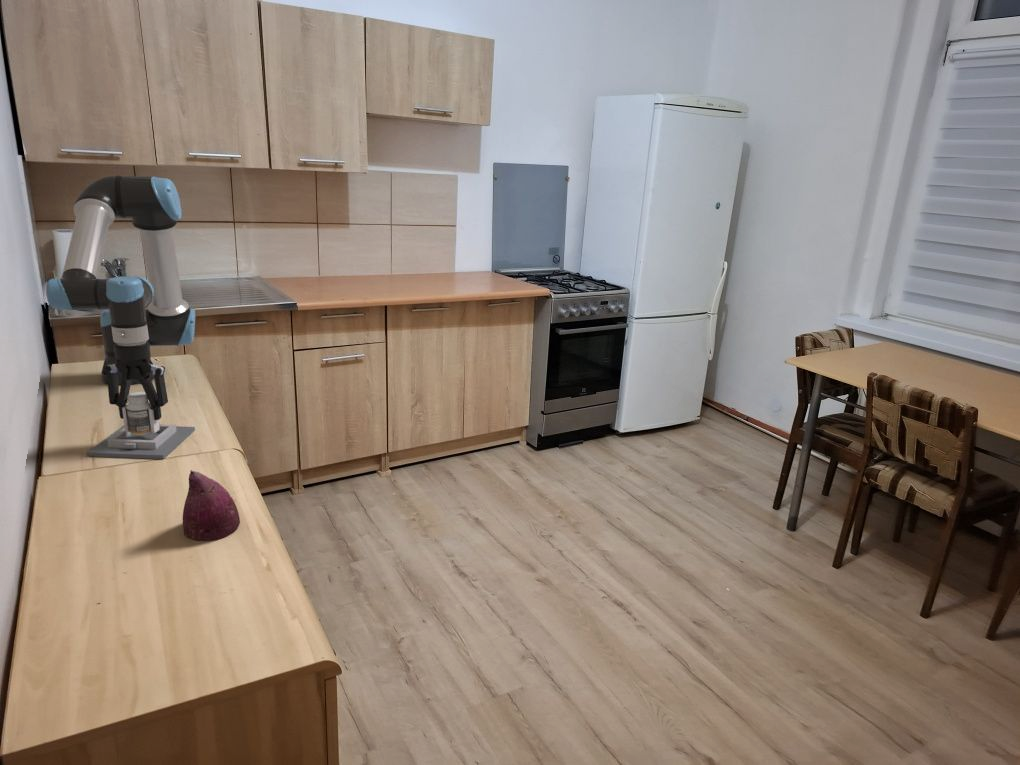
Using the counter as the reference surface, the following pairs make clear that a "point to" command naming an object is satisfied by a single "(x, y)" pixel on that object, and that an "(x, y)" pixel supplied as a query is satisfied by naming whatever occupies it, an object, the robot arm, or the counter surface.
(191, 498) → the vegetable
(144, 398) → the pill bottle
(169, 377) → the counter surface
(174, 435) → the socket
